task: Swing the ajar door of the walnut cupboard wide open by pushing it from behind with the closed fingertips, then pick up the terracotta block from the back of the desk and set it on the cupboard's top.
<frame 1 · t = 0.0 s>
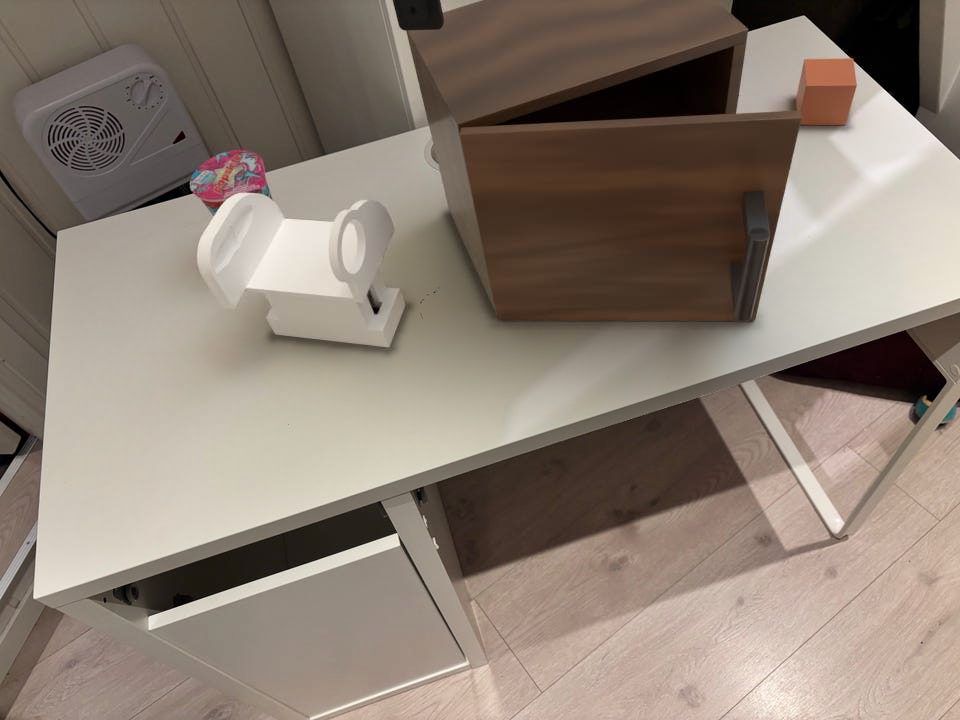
cupboard: (577, 223, 87), on the table
cupboard door: (622, 256, 66), point 12 cm above the table, hinge at 25.0°
cup: (270, 250, 93), on the table
tape dispenser: (338, 326, 83), on the table
block: (820, 111, 93), on the table
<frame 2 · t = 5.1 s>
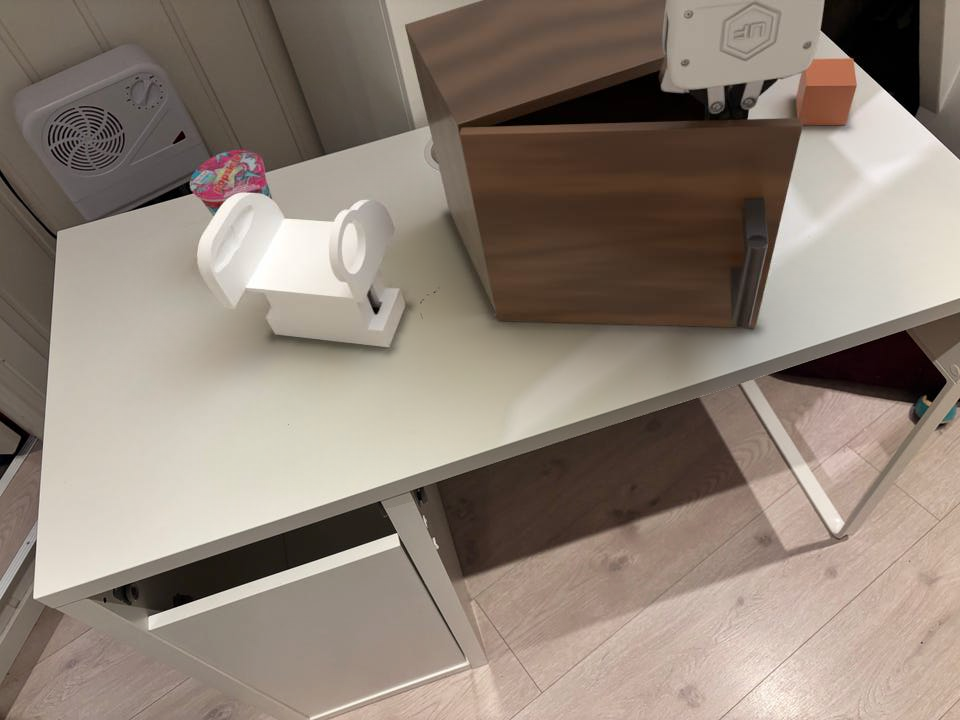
hand: (722, 143, 61), 21 cm above the table, tool pointing down, fingers closed
cupboard door: (621, 260, 66), point 12 cm above the table, hinge at 27.0°, touching gripper
everything else where it was.
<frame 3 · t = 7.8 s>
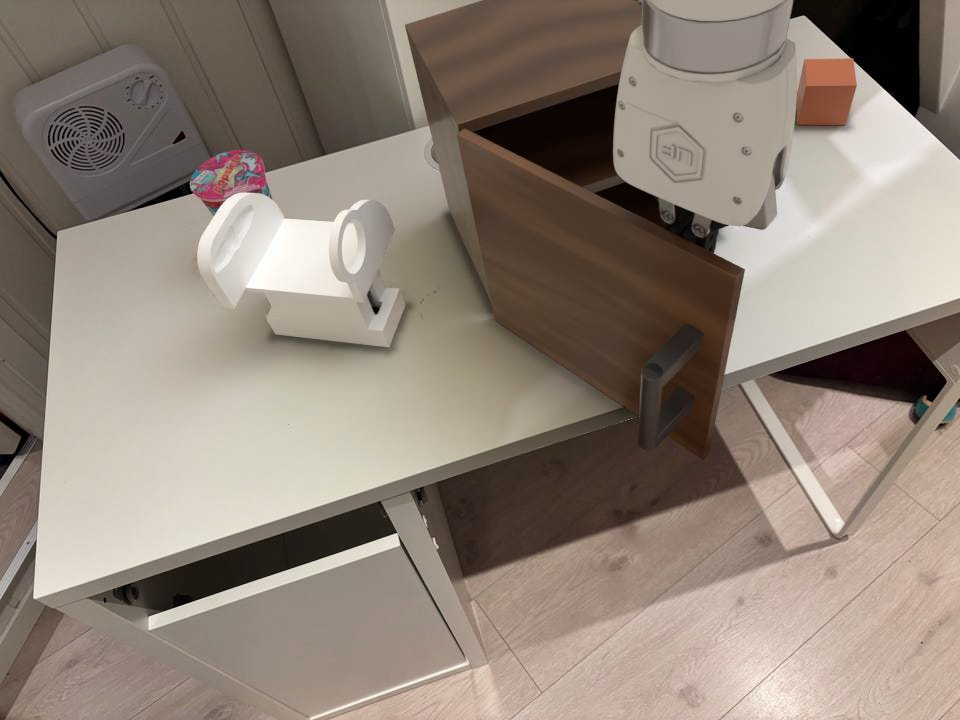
hand: (689, 258, 54), 21 cm above the table, tool pointing down, fingers closed
cupboard door: (566, 321, 63), point 12 cm above the table, hinge at 63.0°, touching gripper
everything else where it was.
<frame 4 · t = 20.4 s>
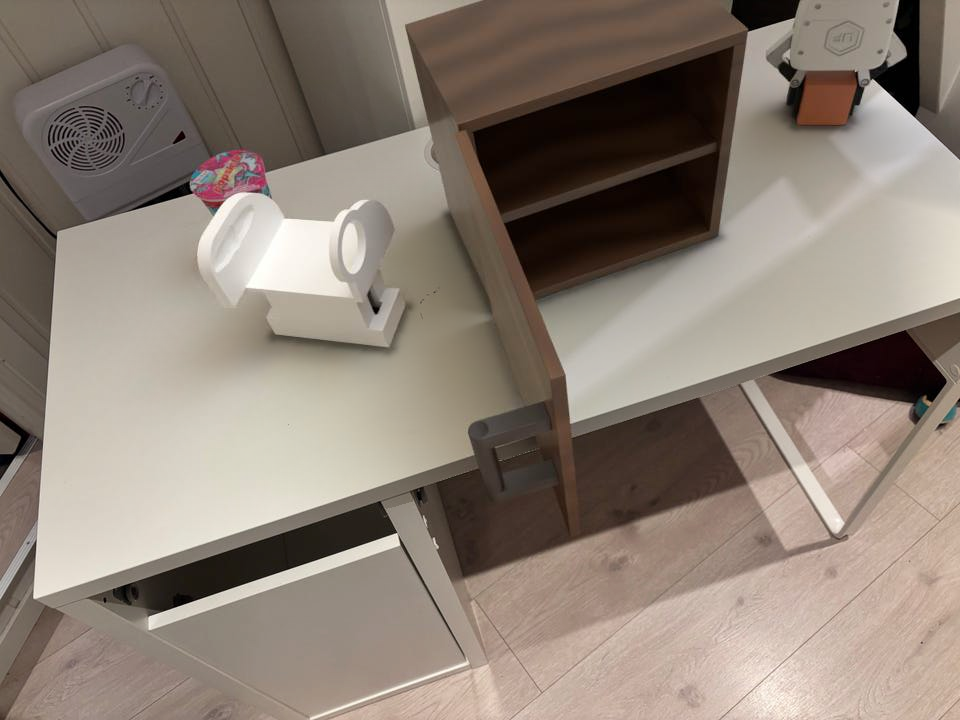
hand: (821, 107, 92), 1 cm above the table, tool pointing down, fingers closed on block, 5 cm apart
cupboard door: (486, 348, 63), point 12 cm above the table, hinge at 93.8°
block: (820, 111, 93), on the table, touching gripper
everything else where it was.
when the fingers open (25 cm above the table, at t = 29.7 s): block stays where it is, resting on cupboard.
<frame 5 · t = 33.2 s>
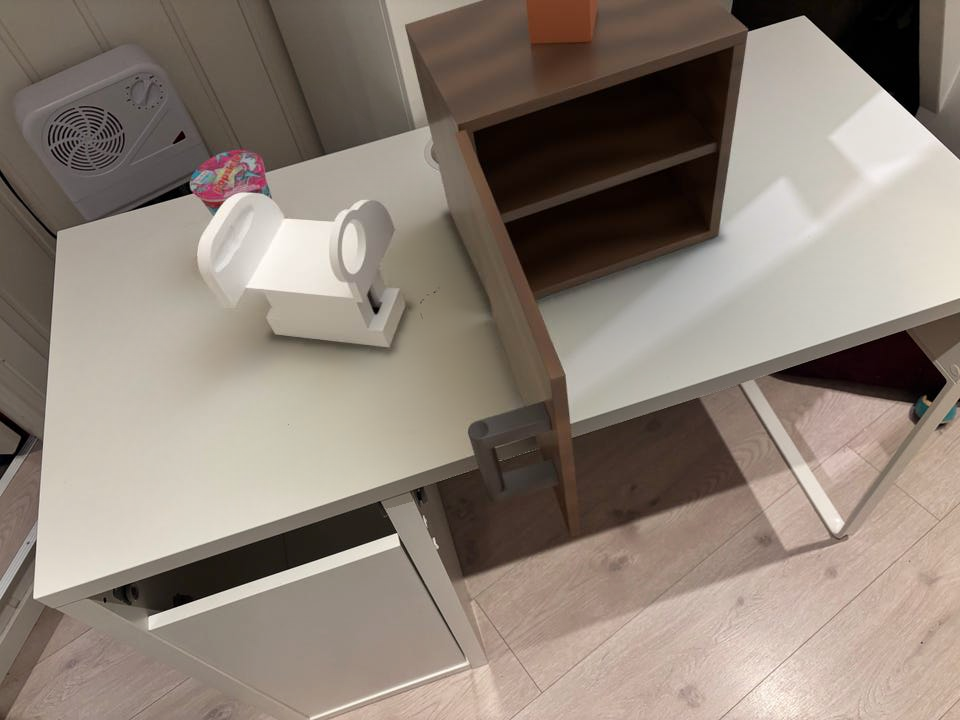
block: (564, 26, 68), point 24 cm above the table, touching cupboard
everything else where it was.
at the end: cupboard door at +94° (first picture: +25°); block inside the target area on the cupboard (0.1 cm from its centre), point 24.4 cm above the cupboard's base; block tilted 0° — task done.
